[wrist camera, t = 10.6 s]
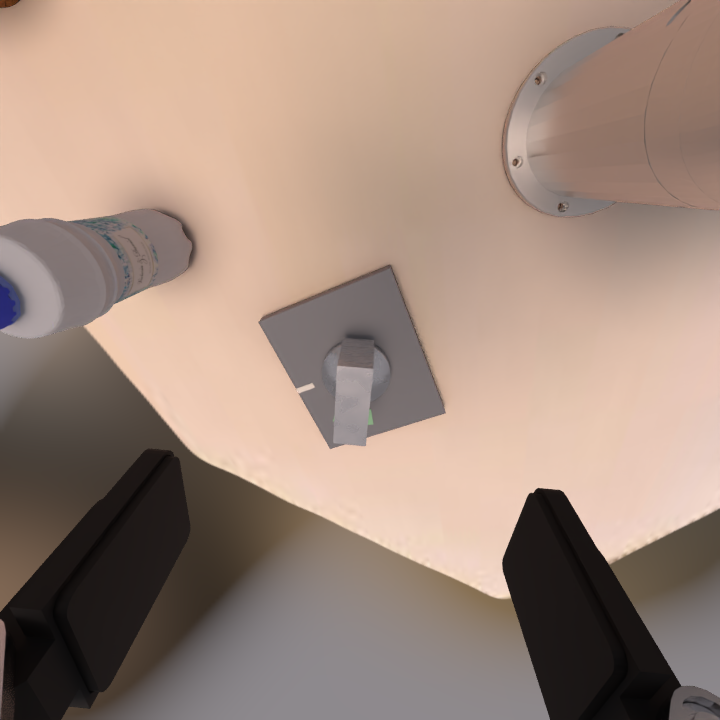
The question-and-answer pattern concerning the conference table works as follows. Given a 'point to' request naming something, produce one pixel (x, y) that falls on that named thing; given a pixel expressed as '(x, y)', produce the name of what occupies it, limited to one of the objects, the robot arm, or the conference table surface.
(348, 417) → the knob
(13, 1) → the disposable coffee cup
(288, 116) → the conference table surface
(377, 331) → the dial board
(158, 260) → the bottle
